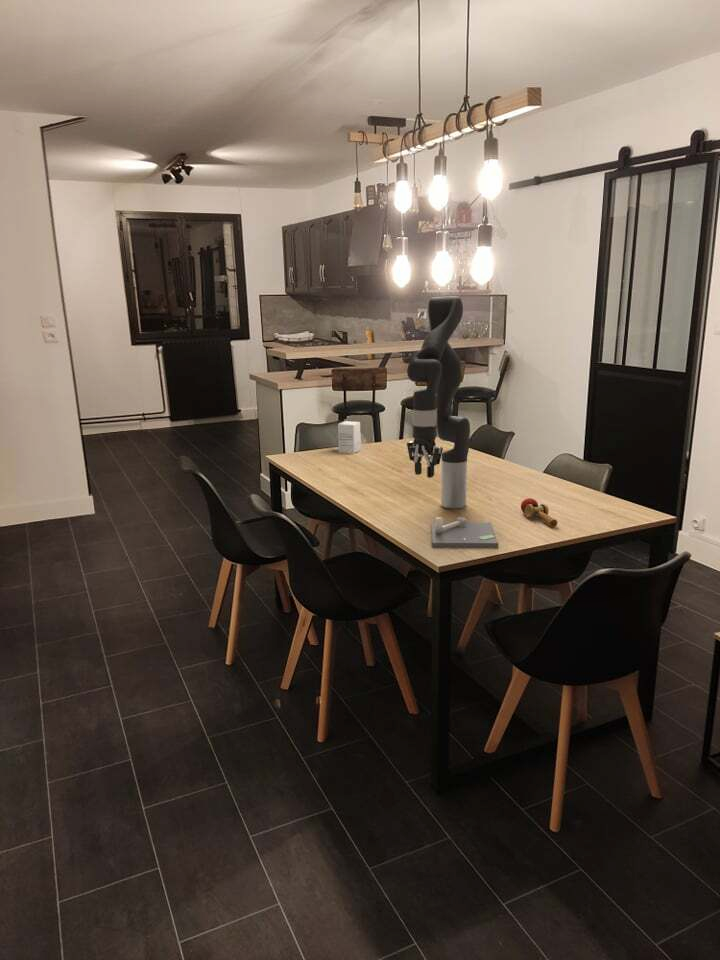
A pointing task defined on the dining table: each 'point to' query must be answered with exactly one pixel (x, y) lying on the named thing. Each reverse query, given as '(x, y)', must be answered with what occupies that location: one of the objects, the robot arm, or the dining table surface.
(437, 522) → the pale grey bar
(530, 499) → the kendama
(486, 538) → the dial plate
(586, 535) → the dining table surface
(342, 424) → the supplement box
